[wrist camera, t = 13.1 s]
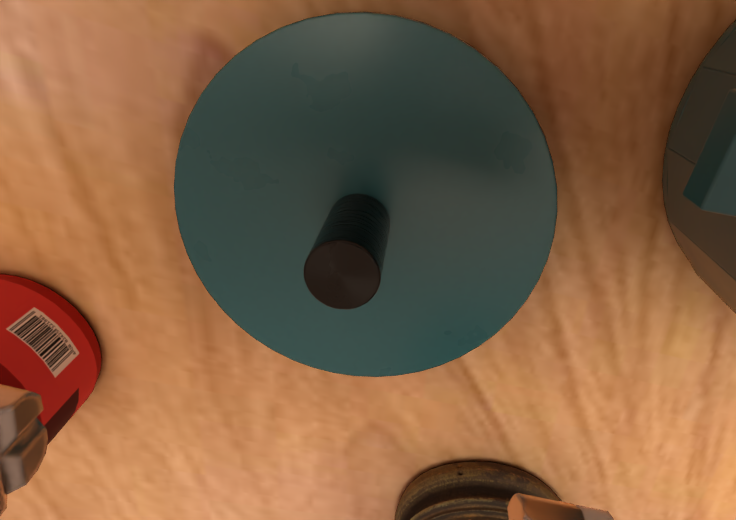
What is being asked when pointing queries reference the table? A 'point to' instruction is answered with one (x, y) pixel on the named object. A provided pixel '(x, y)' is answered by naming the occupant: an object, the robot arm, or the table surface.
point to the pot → (706, 170)
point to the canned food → (46, 349)
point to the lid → (365, 194)
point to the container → (468, 492)
